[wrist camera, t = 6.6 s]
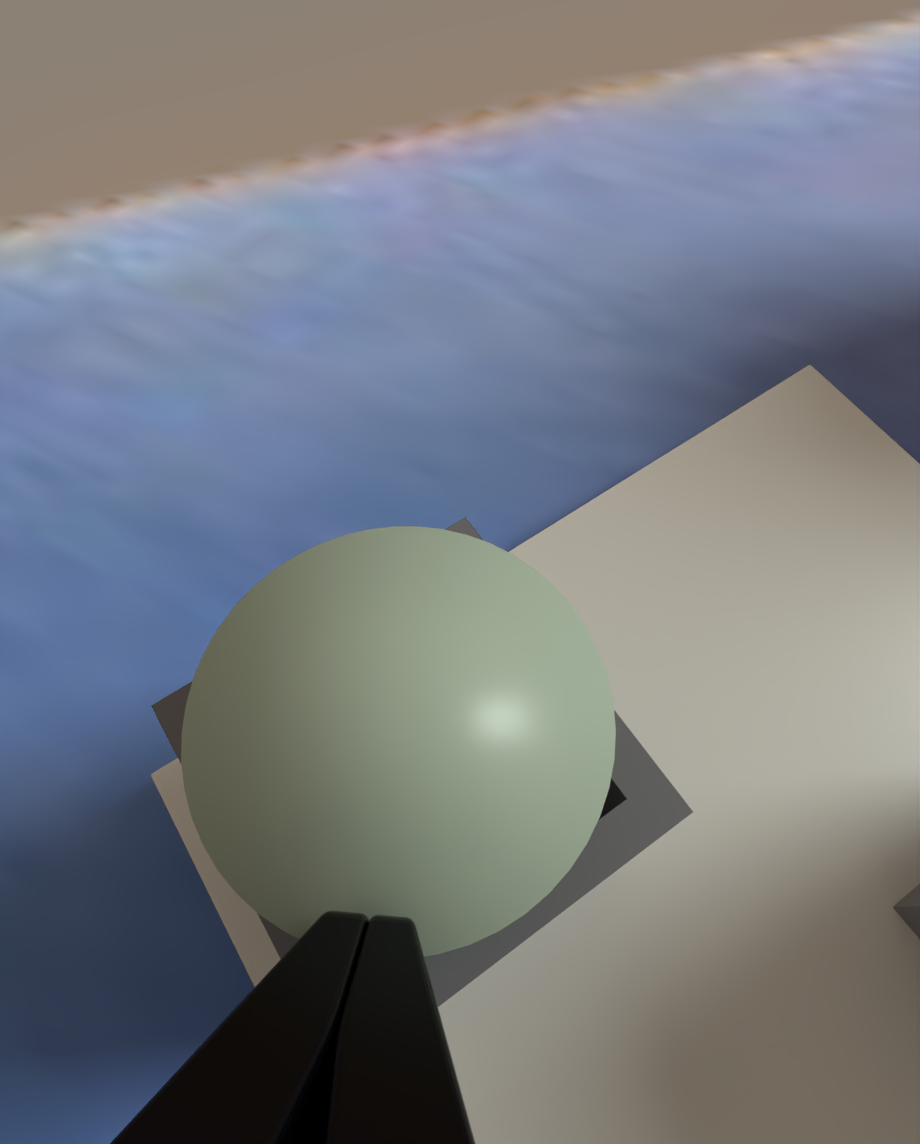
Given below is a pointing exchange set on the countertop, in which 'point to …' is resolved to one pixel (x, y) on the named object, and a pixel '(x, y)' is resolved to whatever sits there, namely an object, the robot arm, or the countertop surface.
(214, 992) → the countertop surface
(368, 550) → the sage button
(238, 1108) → the robot arm
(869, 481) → the grey button stand
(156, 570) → the countertop surface
